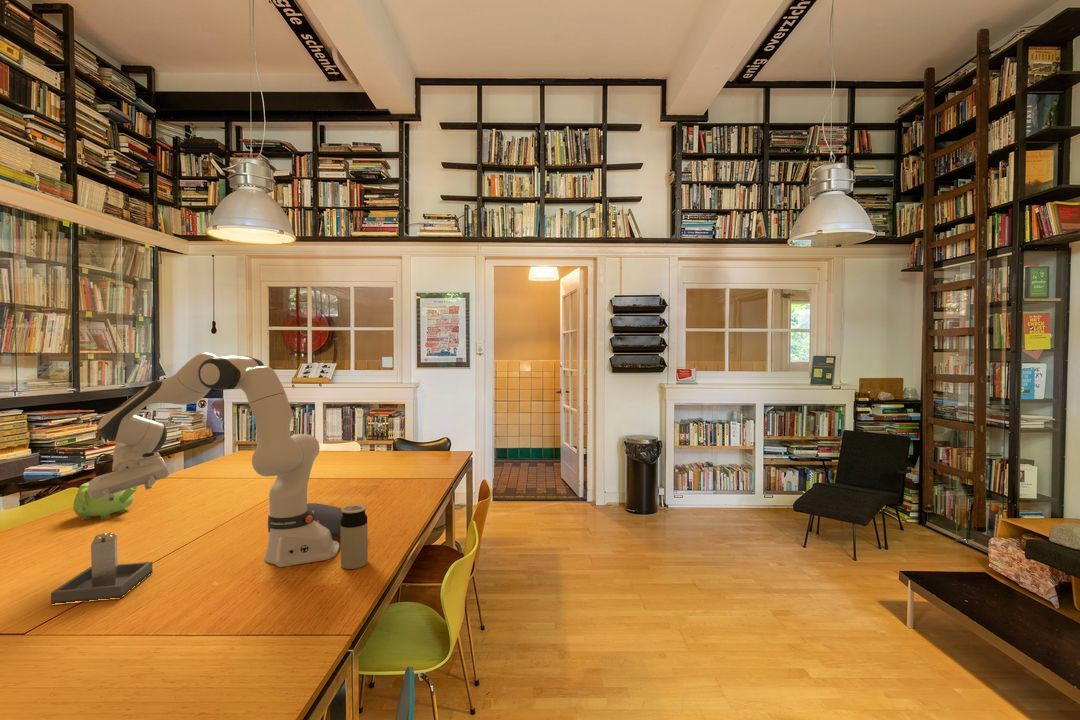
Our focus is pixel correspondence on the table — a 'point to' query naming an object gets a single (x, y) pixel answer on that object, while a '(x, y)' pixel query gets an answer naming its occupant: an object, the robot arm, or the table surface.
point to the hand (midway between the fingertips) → (129, 493)
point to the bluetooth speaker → (327, 516)
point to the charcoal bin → (84, 591)
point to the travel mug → (354, 537)
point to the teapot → (101, 503)
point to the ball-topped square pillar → (104, 560)
